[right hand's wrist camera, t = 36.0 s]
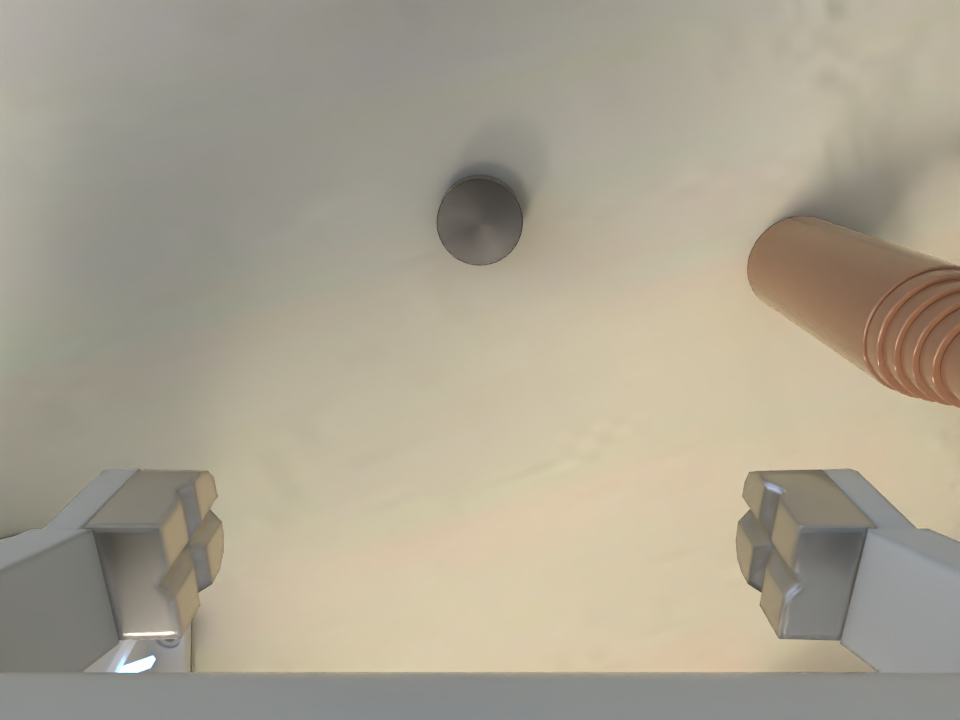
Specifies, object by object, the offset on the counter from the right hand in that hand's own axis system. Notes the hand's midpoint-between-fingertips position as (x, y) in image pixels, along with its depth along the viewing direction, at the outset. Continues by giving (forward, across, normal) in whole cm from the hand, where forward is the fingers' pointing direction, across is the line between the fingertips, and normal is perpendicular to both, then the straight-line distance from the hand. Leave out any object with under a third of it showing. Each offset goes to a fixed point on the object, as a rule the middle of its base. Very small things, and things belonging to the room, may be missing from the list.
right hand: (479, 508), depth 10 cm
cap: (+27, 0, 0) cm, 27 cm away
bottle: (+29, +18, -3) cm, 34 cm away
